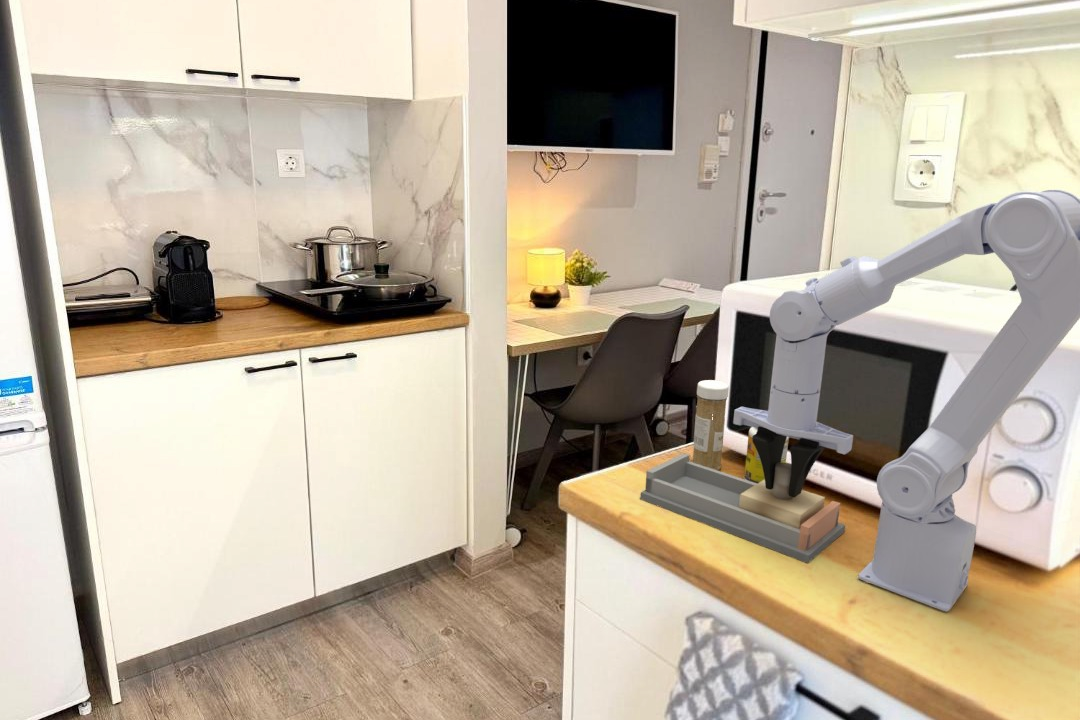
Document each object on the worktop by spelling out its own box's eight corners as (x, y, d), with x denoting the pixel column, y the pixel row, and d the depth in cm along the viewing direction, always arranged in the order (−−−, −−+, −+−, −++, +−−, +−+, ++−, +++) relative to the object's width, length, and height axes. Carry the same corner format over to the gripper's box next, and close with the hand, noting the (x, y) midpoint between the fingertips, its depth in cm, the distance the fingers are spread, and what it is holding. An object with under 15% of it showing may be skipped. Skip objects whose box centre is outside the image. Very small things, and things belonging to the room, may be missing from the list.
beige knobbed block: (821, 523, 96) (828, 467, 94) (797, 542, 91) (804, 484, 89) (763, 503, 102) (769, 450, 100) (737, 520, 97) (743, 464, 95)
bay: (844, 531, 97) (848, 503, 96) (807, 563, 89) (811, 532, 88) (683, 476, 112) (685, 451, 111) (640, 498, 104) (642, 472, 103)
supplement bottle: (747, 472, 114) (754, 408, 112) (785, 479, 112) (793, 414, 109) (740, 486, 109) (747, 419, 107) (780, 494, 107) (788, 426, 104)
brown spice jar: (725, 472, 114) (733, 387, 110) (696, 473, 113) (703, 388, 110) (714, 460, 118) (722, 378, 115) (686, 461, 118) (693, 379, 114)
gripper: (868, 394, 90) (853, 499, 93) (756, 369, 99) (746, 465, 103) (845, 407, 85) (829, 517, 88) (729, 379, 94) (719, 480, 98)
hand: (783, 490), depth 95 cm, fingers closed on beige knobbed block, 2 cm apart
